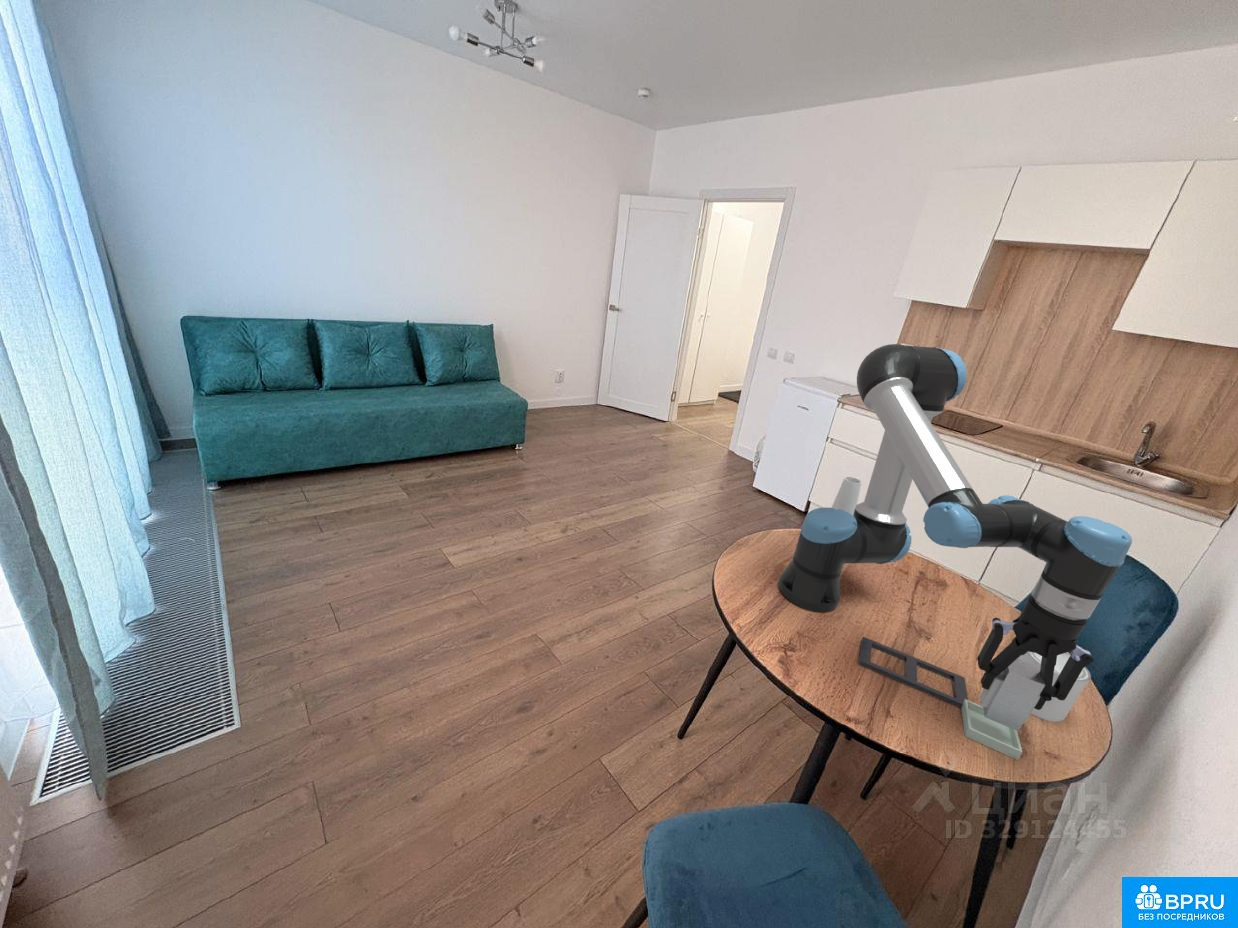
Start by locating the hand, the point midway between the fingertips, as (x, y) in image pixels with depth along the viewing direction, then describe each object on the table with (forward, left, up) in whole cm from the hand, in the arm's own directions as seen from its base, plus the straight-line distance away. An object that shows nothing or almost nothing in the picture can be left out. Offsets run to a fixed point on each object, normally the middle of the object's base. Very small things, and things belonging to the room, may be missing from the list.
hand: (1001, 709), depth 86 cm
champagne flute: (-35, +52, -6) cm, 63 cm away
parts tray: (0, 0, -6) cm, 6 cm away
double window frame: (-13, +8, -6) cm, 17 cm away
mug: (+10, +17, -6) cm, 21 cm away
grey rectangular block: (0, 0, -1) cm, 1 cm away
